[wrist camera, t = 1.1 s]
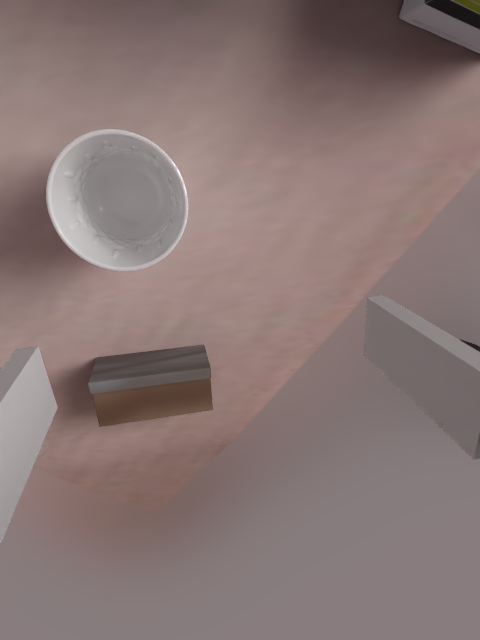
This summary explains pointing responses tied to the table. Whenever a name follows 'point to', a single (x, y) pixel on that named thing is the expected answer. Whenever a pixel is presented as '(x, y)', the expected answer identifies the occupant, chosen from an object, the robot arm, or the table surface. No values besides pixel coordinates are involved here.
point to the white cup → (117, 200)
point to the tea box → (446, 19)
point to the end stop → (151, 385)
